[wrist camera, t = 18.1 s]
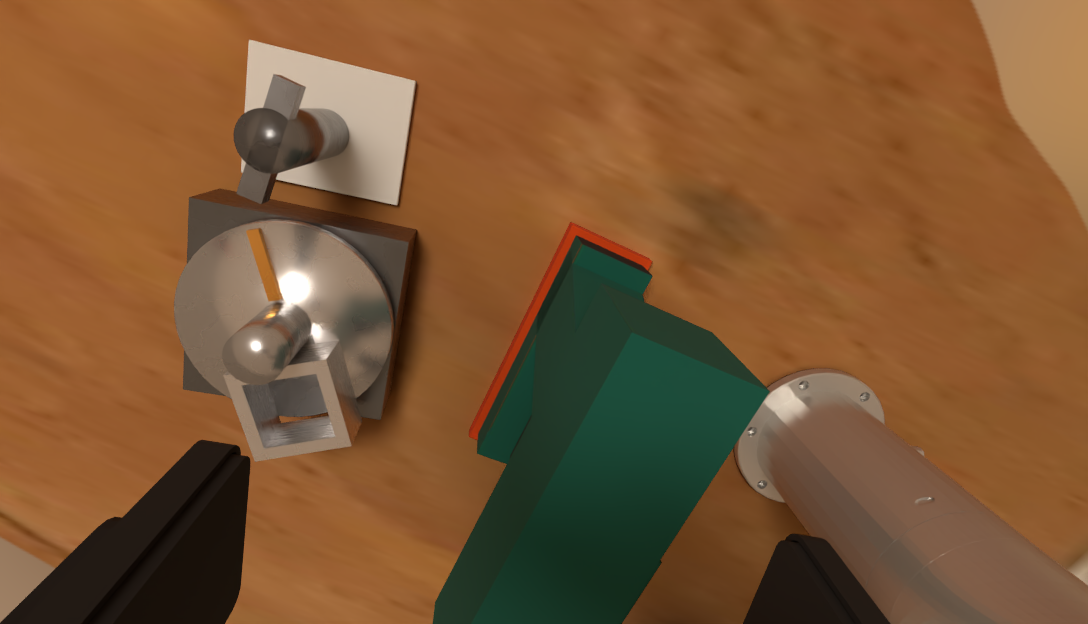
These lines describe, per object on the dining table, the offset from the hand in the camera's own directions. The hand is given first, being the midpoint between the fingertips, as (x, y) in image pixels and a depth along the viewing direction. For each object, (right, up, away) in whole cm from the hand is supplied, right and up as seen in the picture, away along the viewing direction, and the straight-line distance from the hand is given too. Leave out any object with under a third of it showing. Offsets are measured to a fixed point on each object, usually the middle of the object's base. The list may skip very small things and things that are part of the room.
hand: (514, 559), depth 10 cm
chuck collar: (-16, +3, +27) cm, 31 cm away
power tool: (-1, -4, +36) cm, 36 cm away
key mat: (-13, +16, +27) cm, 34 cm away
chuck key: (-14, +16, +26) cm, 34 cm away
